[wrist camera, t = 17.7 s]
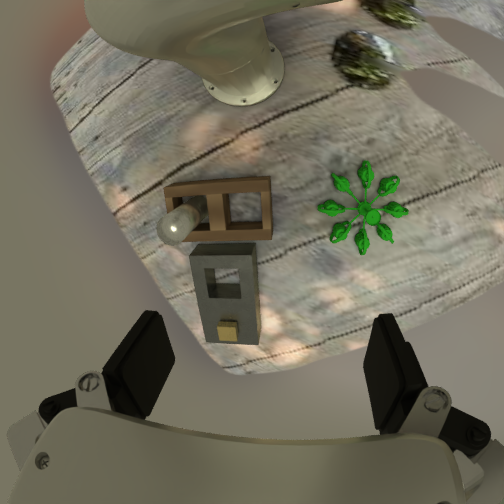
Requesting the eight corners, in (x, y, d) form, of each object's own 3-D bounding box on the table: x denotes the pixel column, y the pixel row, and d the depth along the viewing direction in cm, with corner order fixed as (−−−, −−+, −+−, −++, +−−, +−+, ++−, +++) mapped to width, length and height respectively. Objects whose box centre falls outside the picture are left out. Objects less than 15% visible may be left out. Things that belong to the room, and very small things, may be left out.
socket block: (198, 244, 47) (188, 255, 42) (255, 242, 45) (251, 255, 41) (212, 326, 54) (206, 342, 49) (261, 328, 52) (258, 344, 48)
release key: (224, 305, 51) (216, 326, 45) (241, 305, 50) (235, 327, 45) (226, 318, 52) (219, 340, 46) (242, 319, 52) (237, 341, 46)
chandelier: (296, 205, 42) (297, 217, 36) (362, 139, 37) (375, 140, 30) (356, 265, 45) (365, 285, 39) (418, 208, 39) (436, 220, 33)
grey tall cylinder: (186, 196, 44) (154, 216, 33) (209, 194, 43) (182, 214, 32) (189, 219, 45) (159, 245, 34) (212, 218, 45) (187, 245, 34)
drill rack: (173, 183, 43) (163, 187, 39) (270, 176, 41) (268, 179, 37) (180, 233, 47) (172, 242, 43) (273, 231, 44) (271, 239, 41)
